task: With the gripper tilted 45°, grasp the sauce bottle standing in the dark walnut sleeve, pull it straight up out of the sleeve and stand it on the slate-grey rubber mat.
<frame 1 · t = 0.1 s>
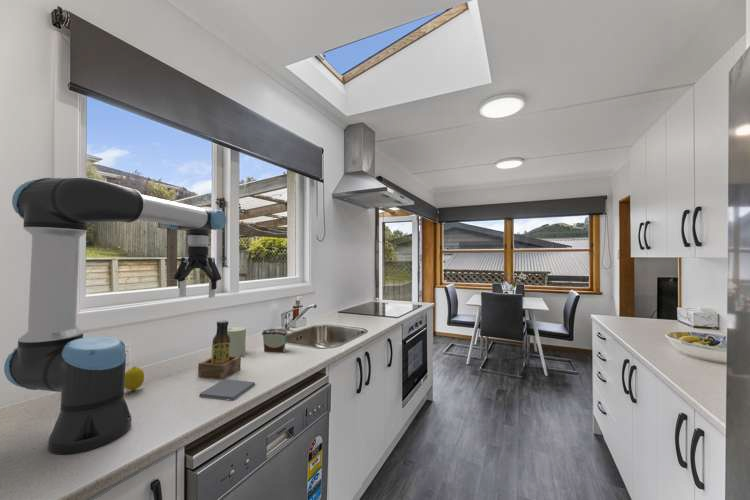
hand: (197, 297, 127), 28 cm above the counter, tool pointing down, fingers open, 13 cm apart
food container: (276, 351, 147), on the counter
rubber mat: (228, 390, 103), on the counter
sauce bottle: (219, 373, 118), resting in walnut sleeve
walnut sleeve: (219, 373, 118), on the counter
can: (234, 354, 141), on the counter
lemon: (133, 391, 101), on the counter
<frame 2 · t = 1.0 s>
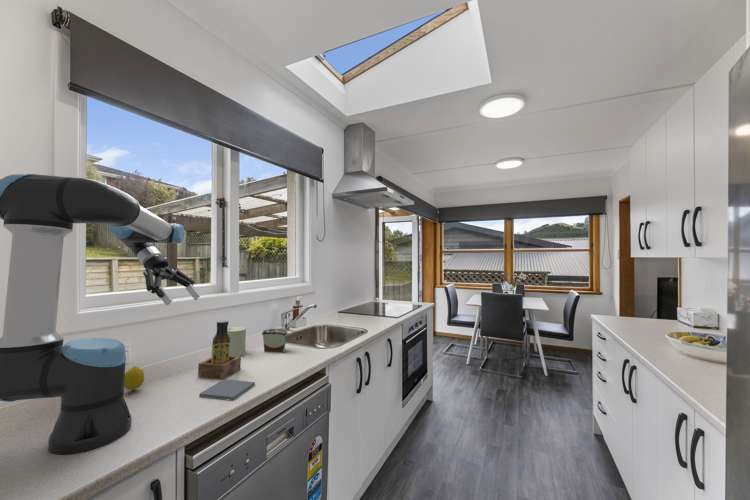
hand: (184, 300, 118), 28 cm above the counter, tool tilted 45°, fingers open, 13 cm apart
nothing on the counter moved.
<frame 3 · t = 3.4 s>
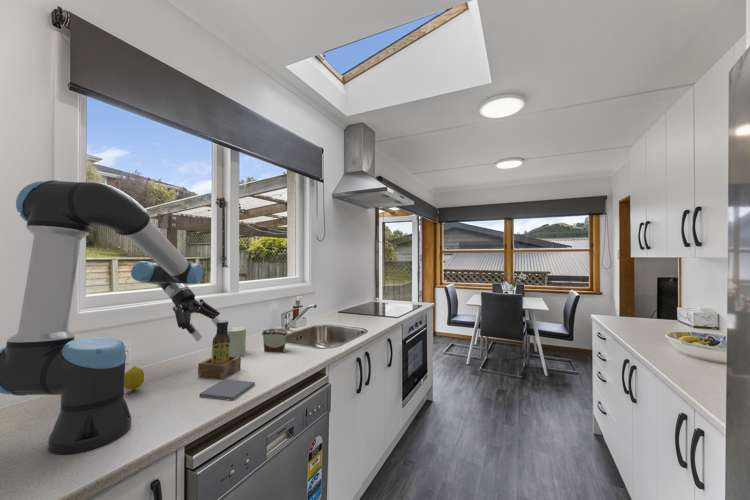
hand: (212, 334, 120), 14 cm above the counter, tool tilted 45°, fingers open, 13 cm apart
nothing on the counter moved.
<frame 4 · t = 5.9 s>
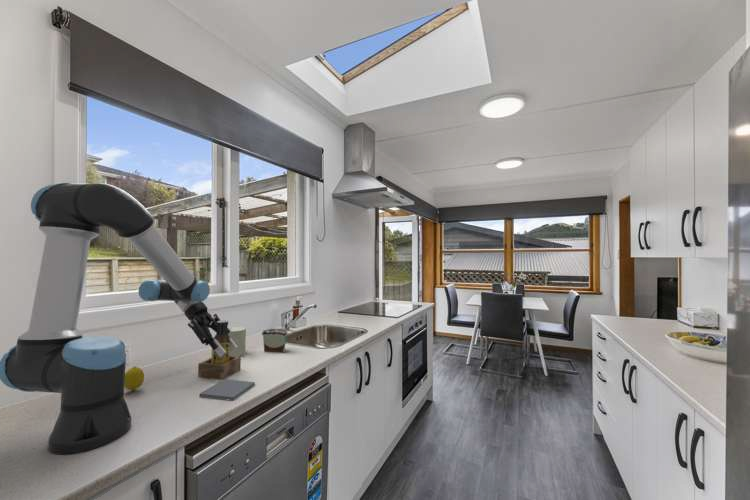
hand: (229, 351, 118), 8 cm above the counter, tool tilted 45°, fingers closed on sauce bottle, 6 cm apart
sauce bottle: (220, 373, 118), resting in walnut sleeve, touching gripper
everything else where it was.
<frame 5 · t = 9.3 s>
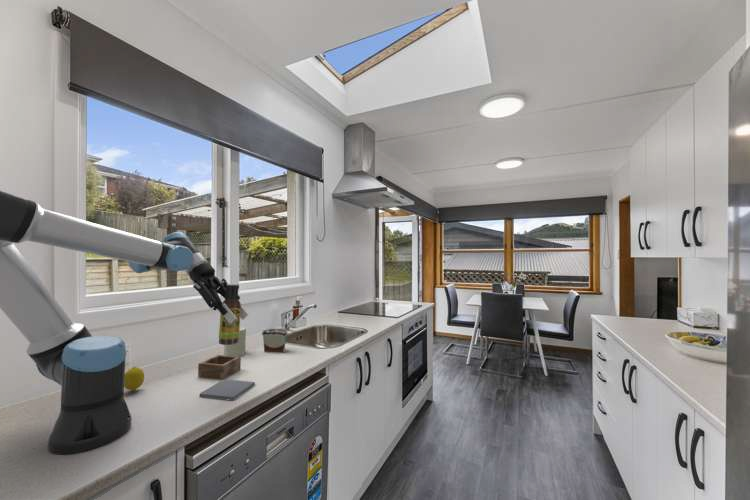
hand: (239, 318, 103), 24 cm above the counter, tool tilted 45°, fingers closed on sauce bottle, 6 cm apart
sauce bottle: (229, 343, 103), point 16 cm above the counter, touching gripper
everything else where it was.
when the fingers open (11 cm above the counter, at t = 12.9 s): sauce bottle drops 1 cm, resting on rubber mat.
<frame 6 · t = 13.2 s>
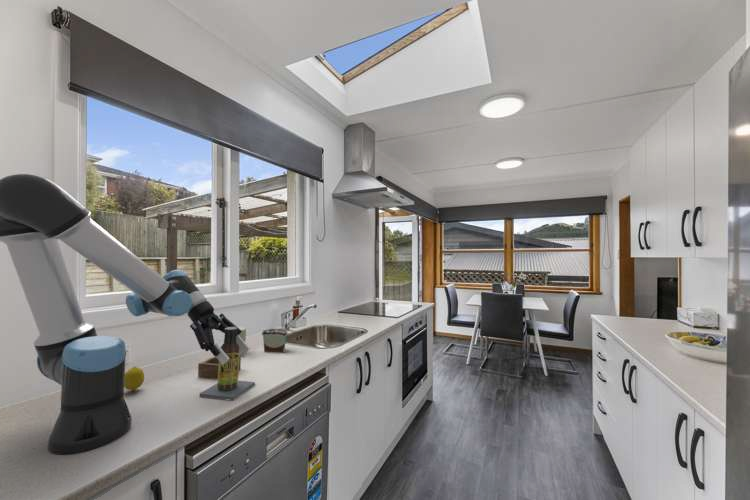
hand: (237, 356, 103), 12 cm above the counter, tool tilted 45°, fingers open, 10 cm apart
sauce bottle: (227, 388, 103), point 1 cm above the counter, touching rubber mat
everything else where it was.
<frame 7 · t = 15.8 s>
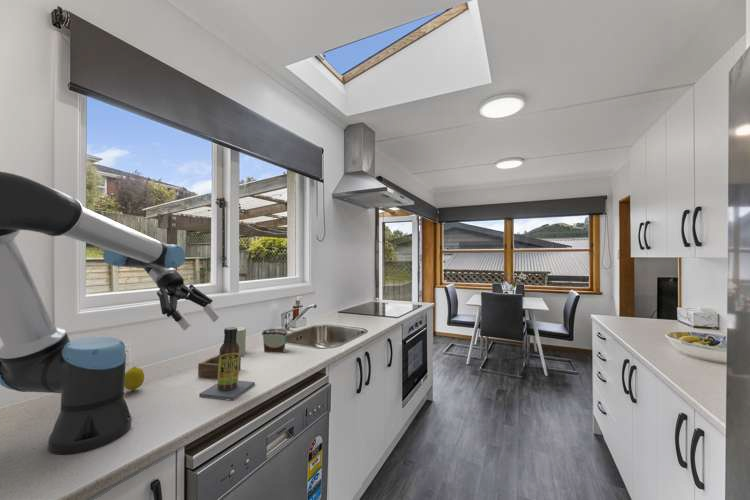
hand: (203, 323, 105), 22 cm above the counter, tool tilted 45°, fingers open, 13 cm apart
nothing on the counter moved.
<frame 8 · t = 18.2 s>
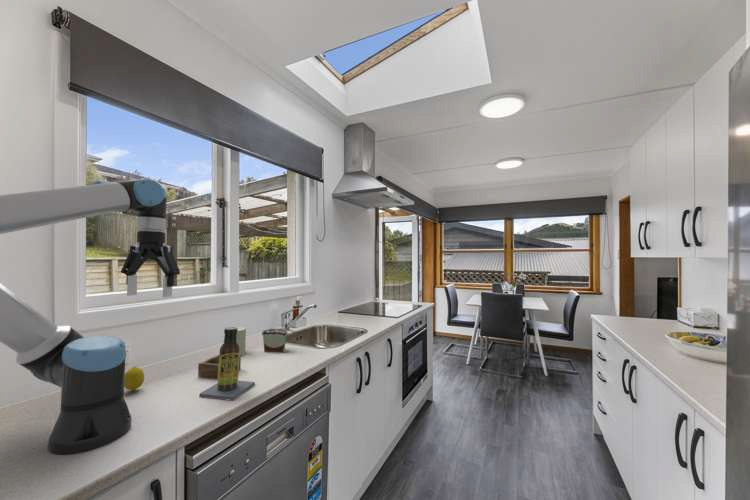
hand: (149, 296, 100), 32 cm above the counter, tool pointing down, fingers open, 13 cm apart
nothing on the counter moved.
at the end: sauce bottle inside the target area on the rubber mat (0.2 cm from its centre), point 0.8 cm above the rubber mat's base; sauce bottle tilted 0°; the gripper is holding nothing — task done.
